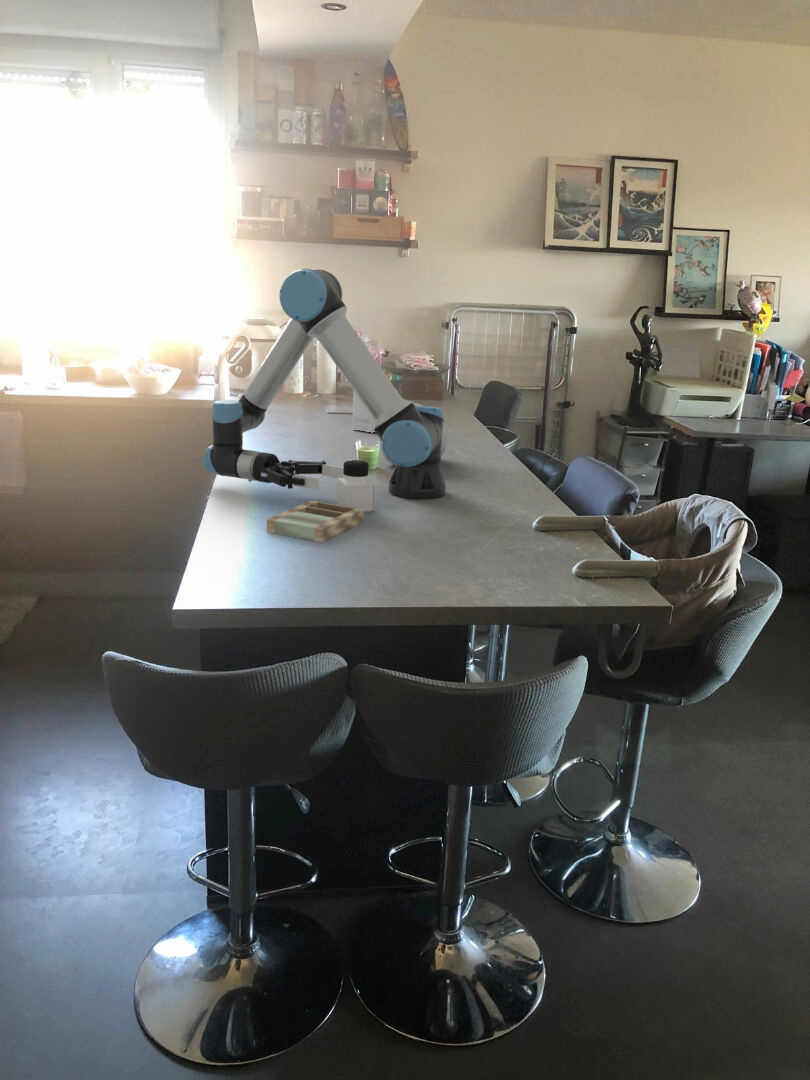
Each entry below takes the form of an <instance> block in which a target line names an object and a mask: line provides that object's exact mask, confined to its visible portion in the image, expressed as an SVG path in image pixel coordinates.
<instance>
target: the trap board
mask: <svg viewBox="0 0 810 1080" xmlns="http://www.w3.org/2000/svg"><path fill="white" fill-rule="evenodd" d="M361 522H362V523H364V512H363V509H357V508H352V507H346V506H340V505H337V504H332V503H327V502H321V501H316V500H309V501H307V502H304V503H302V504H300V505H297V506H295V507H293V508H292V507H291V508H290V509H288V510H285V511H283V512H280V513H278V514H276V515H274V516H271V517H268V518H266V533H268V534H274V533H275V534H274V535H279V534H281V535H280V536H284V535H287V536H286V537H289V536H292V537H291V538H294V537H296V539H300V538H302V539H301V540H305V539H307V541H310V540H311V541H310V542H315V541H316V542H317V543H320V542H321V543H322V542H323V543H324V542H326V541H328V540H331V539H333V538H334V537H336V536H338V535H340V534H342V533H344V532H346V531H348V530H350V529H352V528H354V527H356V526H358V525H360V524H361ZM359 523H360V524H359ZM357 524H358V525H357ZM355 525H356V526H355ZM353 526H354V527H353ZM351 527H352V528H351ZM349 528H350V529H349ZM347 529H348V530H347ZM345 530H346V531H345ZM343 531H344V532H343ZM341 532H342V533H341ZM339 533H340V534H339ZM337 534H338V535H337ZM335 535H336V536H335ZM333 536H334V537H333ZM316 542H315V543H316Z"/></svg>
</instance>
